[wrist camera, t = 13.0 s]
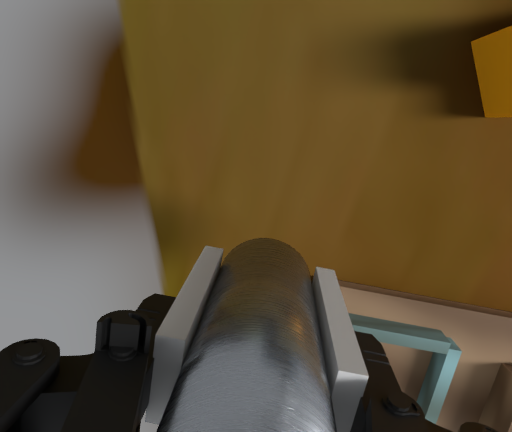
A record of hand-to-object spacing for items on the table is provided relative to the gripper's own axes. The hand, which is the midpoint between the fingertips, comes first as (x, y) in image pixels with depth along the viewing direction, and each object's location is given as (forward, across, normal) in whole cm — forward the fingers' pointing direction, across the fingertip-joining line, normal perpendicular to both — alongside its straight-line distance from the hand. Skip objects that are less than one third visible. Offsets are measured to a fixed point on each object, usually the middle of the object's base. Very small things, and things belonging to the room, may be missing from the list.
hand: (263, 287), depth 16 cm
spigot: (+1, 0, 0) cm, 1 cm away
